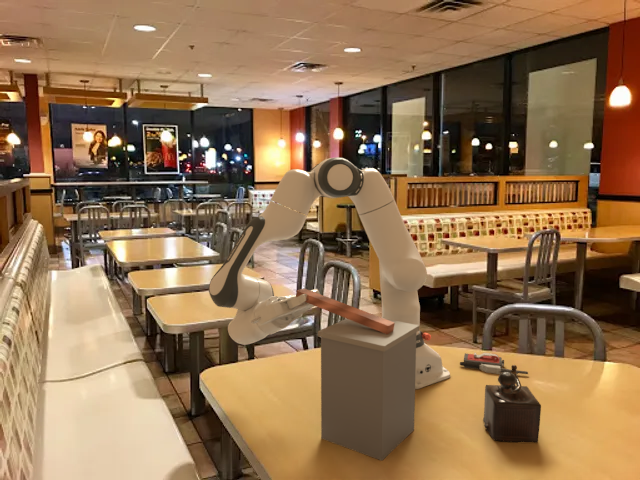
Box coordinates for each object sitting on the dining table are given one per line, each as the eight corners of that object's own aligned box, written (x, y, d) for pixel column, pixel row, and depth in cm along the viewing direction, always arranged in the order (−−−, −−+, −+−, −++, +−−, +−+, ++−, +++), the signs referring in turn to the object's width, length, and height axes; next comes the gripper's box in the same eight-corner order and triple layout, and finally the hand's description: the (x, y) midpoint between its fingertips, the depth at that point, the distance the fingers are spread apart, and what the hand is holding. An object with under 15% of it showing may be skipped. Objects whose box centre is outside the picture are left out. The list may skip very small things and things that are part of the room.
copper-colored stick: (295, 298, 130) (296, 290, 129) (302, 295, 132) (303, 288, 132) (387, 334, 116) (388, 326, 115) (393, 330, 118) (394, 322, 118)
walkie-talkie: (459, 370, 162) (528, 379, 156) (459, 357, 162) (529, 364, 155) (460, 360, 170) (526, 368, 164) (461, 347, 170) (527, 354, 163)
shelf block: (318, 438, 122) (317, 331, 118) (356, 410, 135) (357, 313, 132) (382, 462, 112) (384, 346, 108) (416, 429, 126) (419, 325, 122)
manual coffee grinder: (479, 419, 131) (482, 350, 128) (525, 420, 130) (529, 351, 127) (496, 453, 115) (500, 376, 113) (548, 455, 115) (552, 377, 112)
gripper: (242, 312, 129) (279, 291, 121) (293, 295, 145) (329, 276, 137) (252, 335, 128) (290, 316, 120) (302, 316, 144) (339, 298, 136)
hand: (311, 294), depth 129 cm, fingers closed on copper-colored stick, 3 cm apart
